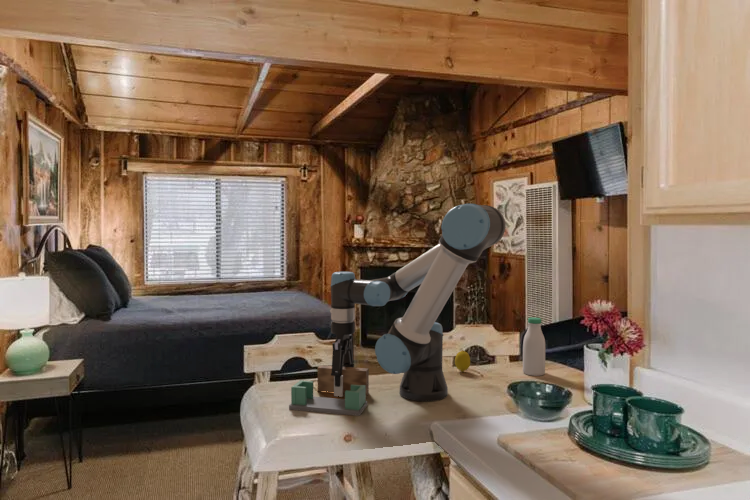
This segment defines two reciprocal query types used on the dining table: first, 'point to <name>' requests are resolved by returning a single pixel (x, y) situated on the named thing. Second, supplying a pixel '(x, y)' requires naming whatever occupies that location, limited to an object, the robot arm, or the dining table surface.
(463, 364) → the lemon
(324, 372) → the slat
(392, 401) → the dining table surface
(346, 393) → the cradle
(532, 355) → the milk bottle
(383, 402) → the dining table surface
